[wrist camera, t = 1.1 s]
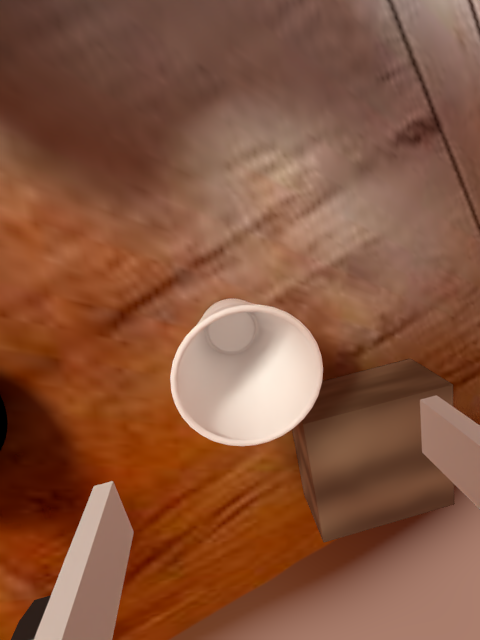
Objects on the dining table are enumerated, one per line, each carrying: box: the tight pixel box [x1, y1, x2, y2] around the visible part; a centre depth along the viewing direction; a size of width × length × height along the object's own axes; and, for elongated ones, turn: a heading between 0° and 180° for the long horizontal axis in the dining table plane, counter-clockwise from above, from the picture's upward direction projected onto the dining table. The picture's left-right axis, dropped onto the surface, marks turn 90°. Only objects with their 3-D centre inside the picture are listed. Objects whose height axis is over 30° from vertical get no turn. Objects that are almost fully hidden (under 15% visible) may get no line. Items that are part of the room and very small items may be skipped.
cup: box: [170, 299, 323, 446], centre depth 26 cm, size 10×10×11 cm
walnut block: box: [292, 359, 454, 542], centre depth 33 cm, size 14×14×6 cm
